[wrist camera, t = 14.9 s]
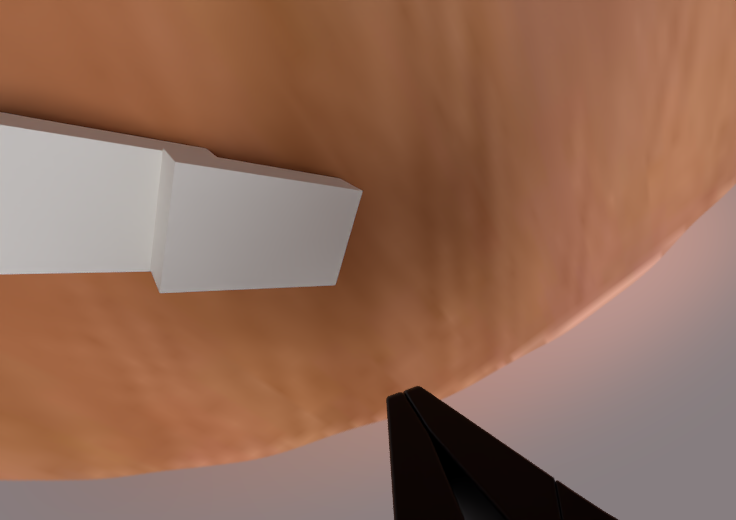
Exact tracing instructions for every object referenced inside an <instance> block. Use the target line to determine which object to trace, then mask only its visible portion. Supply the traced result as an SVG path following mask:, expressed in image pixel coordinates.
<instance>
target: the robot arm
mask: <svg viewBox="0 0 736 520" xmlns="http://www.w3.org/2000/svg"><path fill="white" fill-rule="evenodd" d="M386 403H387V418H388V432H389V449H390V464H391V479H392V494H393V510H394V520H618V519H616V518H615V517H613V516H611V515H610V514H608V513H606V512H604V511H603V510H601V509H600V508H598V507H597V506H595V505H594V504H592V503H591V502H589V501H588V500H586V499H585V498H583V497H582V496H580V495H579V494H577V493H575V492H574V491H573V490H571V489H570V488H568V487H567V486H565V485H564V484H562V483H561V482H559V481H555V480H554V478H553V477H552V476H550V475H549V474H547V473H546V472H545V471H543V470H542V469H540V468H539V467H537V466H536V465H534V464H533V463H532V462H530V461H529V460H527V459H526V458H524V457H523V456H521V455H520V454H518V453H517V452H515V451H514V450H512V449H511V448H510V447H508V446H507V445H505V444H504V443H502V442H501V441H499V440H498V439H496V438H495V437H494V436H492V435H491V434H489V433H488V432H486V431H485V430H483V429H481V428H480V427H479V426H477V425H476V424H475V423H473V422H472V421H470V420H469V419H467V418H466V417H464V416H463V415H461V414H460V413H459V412H457V411H455V410H454V409H453V408H451V407H450V406H448V405H447V404H445V403H444V402H442V401H441V400H440V399H438V398H437V397H435V396H434V395H432V394H431V393H429V392H428V391H426V390H425V389H423V388H422V387H420V386H416V387H413V388H410V389H408V390H405V391H404V392H403V393H402V392H399V393H396V394H393V395H391V396H388V397H387V399H386Z"/></svg>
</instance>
